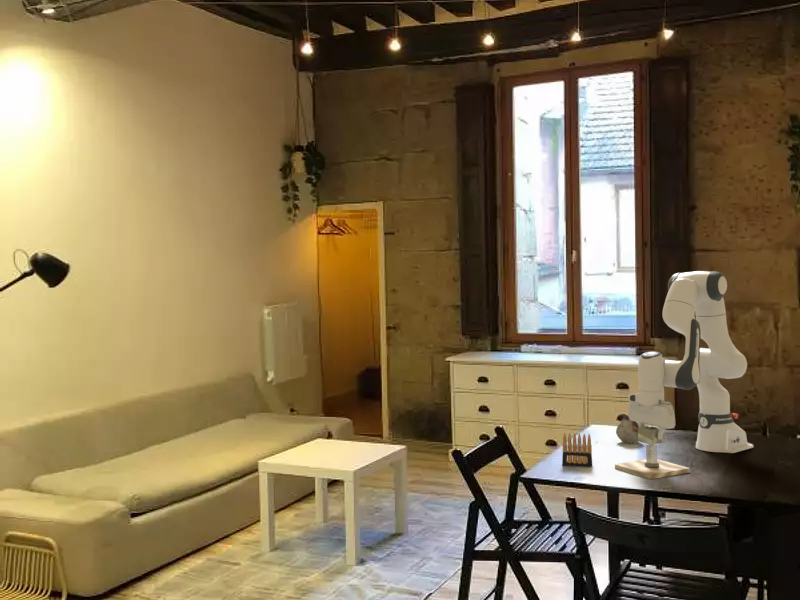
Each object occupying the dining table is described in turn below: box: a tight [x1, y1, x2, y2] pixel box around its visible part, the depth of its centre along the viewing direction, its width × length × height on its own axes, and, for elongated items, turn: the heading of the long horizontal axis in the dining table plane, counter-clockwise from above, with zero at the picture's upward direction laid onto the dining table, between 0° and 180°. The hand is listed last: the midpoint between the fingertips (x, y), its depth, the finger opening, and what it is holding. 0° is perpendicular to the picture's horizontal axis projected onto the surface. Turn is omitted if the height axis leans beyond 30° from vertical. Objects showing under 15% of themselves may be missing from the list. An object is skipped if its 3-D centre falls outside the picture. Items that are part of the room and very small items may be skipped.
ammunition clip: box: [561, 432, 593, 468], centre depth 317 cm, size 11×2×12 cm, turn 72°
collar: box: [638, 425, 666, 445], centre depth 308 cm, size 6×6×5 cm
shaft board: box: [614, 444, 691, 480], centre depth 308 cm, size 18×18×9 cm
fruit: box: [615, 414, 639, 445], centre depth 354 cm, size 10×9×12 cm
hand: (651, 437), depth 308 cm, fingers closed on collar, 6 cm apart
